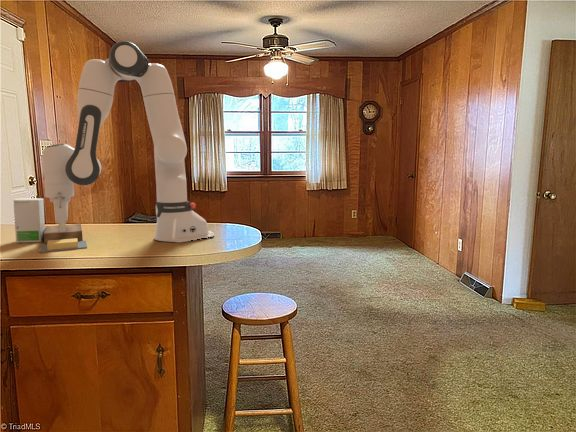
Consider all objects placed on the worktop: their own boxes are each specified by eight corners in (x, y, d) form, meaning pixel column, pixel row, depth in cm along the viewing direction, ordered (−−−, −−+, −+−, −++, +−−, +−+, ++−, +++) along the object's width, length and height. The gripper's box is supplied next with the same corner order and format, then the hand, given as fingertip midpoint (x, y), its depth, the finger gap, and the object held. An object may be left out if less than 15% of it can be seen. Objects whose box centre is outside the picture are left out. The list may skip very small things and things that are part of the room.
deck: (81, 233, 164) (80, 223, 163) (82, 241, 150) (81, 230, 149) (46, 236, 158) (45, 226, 158) (44, 245, 144) (43, 233, 144)
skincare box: (15, 243, 147) (11, 200, 144) (21, 239, 153) (17, 197, 150) (42, 242, 149) (38, 199, 146) (47, 238, 155) (43, 197, 153)
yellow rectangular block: (77, 241, 139) (78, 247, 140) (77, 238, 145) (77, 243, 145) (47, 244, 135) (47, 250, 136) (47, 240, 140) (48, 246, 141)
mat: (85, 241, 150) (85, 240, 150) (87, 248, 140) (87, 246, 140) (41, 245, 143) (41, 244, 143) (39, 252, 134) (39, 251, 134)
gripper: (70, 194, 134) (73, 235, 136) (69, 188, 152) (72, 225, 154) (47, 195, 131) (51, 237, 133) (50, 189, 149) (53, 226, 151)
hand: (63, 230), depth 144 cm, fingers closed
